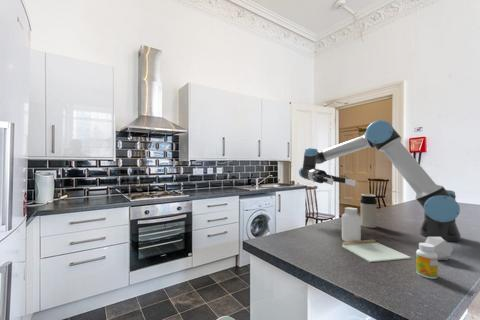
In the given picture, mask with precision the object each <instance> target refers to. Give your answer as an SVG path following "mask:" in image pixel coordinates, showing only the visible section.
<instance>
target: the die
mask: <svg viewBox="0 0 480 320" xmlns="http://www.w3.org/2000/svg"><path fill="white" fill-rule="evenodd" d="M424 243H428V244H432V245H434V246H435V251H434V252H435V253H436V254H437V255H438V261H447V260H448V261H449V259H450V257H451V255H452V253H453V251H454V250H455V248H454V246H452V245H451V244H450V243H449V241H445V240H444V239H443V238H442V237H426V239H425V241H424Z"/></svg>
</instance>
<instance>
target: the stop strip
mask: <svg viewBox="0 0 480 320" xmlns="http://www.w3.org/2000/svg"><path fill="white" fill-rule="evenodd" d="M366 243H377V242H376V240H375V239H367V240H363V239H361V241H347V242H346V241H341V246H342V245H352V244H366Z"/></svg>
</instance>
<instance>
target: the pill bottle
mask: <svg viewBox="0 0 480 320" xmlns="http://www.w3.org/2000/svg"><path fill="white" fill-rule="evenodd" d="M358 209H359V208H357V207H356V208H355V207H349V206H347V207H346V206H345V207H344V213H342V215H341V240H342V242H347V241H362V237H361V235H362V234H361V231H362V229H361V227H362V226H361V215H359V214H358Z"/></svg>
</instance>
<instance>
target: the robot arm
mask: <svg viewBox="0 0 480 320" xmlns="http://www.w3.org/2000/svg"><path fill="white" fill-rule="evenodd" d="M368 148H370V149H372V148H375V149H376V150H377V152H382V153H384V155H385V156H386V157H387V158H388V160H389V161H390V162H391V164H392V165H393V166H394V167H395V169H396V170H397V172H398V173H399V174H400V175H401V176H402V177H403V179H404V180H405V181H406V182H407V184H408V185H409V186H410V187H411V188H412V190H413V191H414V192H415V199H416V201H417V202H418V204H419V205H420V206H421V207H422V208H423V214H424V216H423V222H422V223H421V226H420V228H419V234H420V235H422V236H424V237H426V238H427V237H442V238H443V239H444V240H445V241H446V242H460V241H462V239H461V237H462V236H461V235H462V234H461V233H460V231H459V228H458V226H457V224H456V223H457V221H456V219H457V218H458V216H459V215H460V212H461V207H460V204H459V203H458V201H456V198H457V195H456V192H455V191H454V190H449V189H446V188H445V187H444V186H443V185H439V184H436V182H435V181H434V179H432V178H431V176H429V174H428V173H427V172H426V171H425V169H424V168H423V167H422V166H421V165H420V163H419V162H418V161H417V160H416V159H415V158H414V156H413V155H412V154H411V152H410V151H409V150H408V149H407V148H406V147H405V145H404V144H403V143H402V136H401V135H400V134H399V133H398V132H397V130H396V129H395V128H394V127H393V126H392V124H391V123H390V122H389V121H386V120H384V119H383V120H382V119H380V120H379V119H378V120H375V121H372V122H371V123H370V124H369V125H368V126H367V127H366V129H365V132H364V134H363V135H360V136H358V137H357V136H356V137H355V138H352V139H350V140H346V141H344V142H341V143H338V144H336V145H333V146H331V147H328V148H327V147H326V148H325V149H323V150H320V151H318V149H317V148H311V147H306V148H305V150H304V154H303V155H304V156H303V161H302V166H301V167H300V169H299V170H298V174H299V177H301V178H302V179H304V180H308V181H311V182H312V183H318V184H323V183H325V184H327V185H330V186H331V185H332V186H333V185H334V182H335V183H342V184H346V185H348V186H352V187H356V184H357V180H354V179H350V178H349V177H340V176H336V175H330V174H327V172H326V171H325V170H323V169H319V168H316V166H317V165H320V164H323V163H325V162H327V161H330V160H333V159H337V158H340V157H342V156H345V155H348V154H351V153H355V152H358V151H362V150H364V149H368Z"/></svg>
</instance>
